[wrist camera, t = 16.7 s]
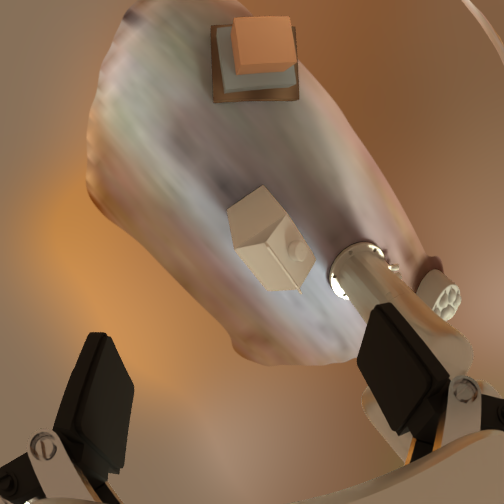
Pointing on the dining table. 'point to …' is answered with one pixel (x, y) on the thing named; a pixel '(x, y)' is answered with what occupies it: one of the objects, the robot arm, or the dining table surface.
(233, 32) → the orange cube
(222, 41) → the grey square block
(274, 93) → the base block
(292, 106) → the dining table surface
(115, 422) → the robot arm
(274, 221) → the milk carton
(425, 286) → the lumpy-topped squat cylinder
